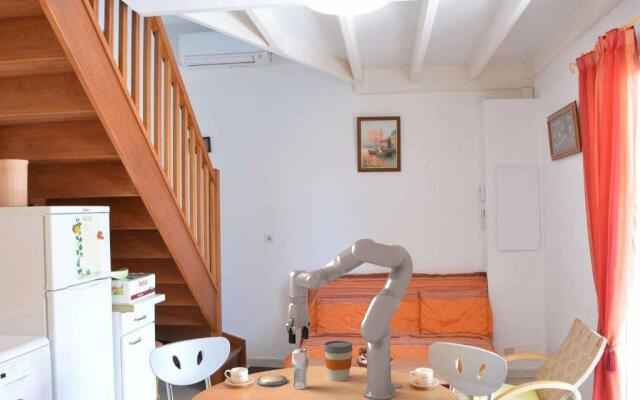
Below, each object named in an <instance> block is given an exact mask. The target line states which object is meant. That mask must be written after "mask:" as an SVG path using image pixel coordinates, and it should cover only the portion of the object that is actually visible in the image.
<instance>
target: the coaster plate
mask: <svg viewBox="0 0 640 400" xmlns="http://www.w3.org/2000/svg"><path fill="white" fill-rule="evenodd" d="M287 382H288V378H287V376H285V375H282V374H269V375H262V376H260V377H258V378H257V379H256V384H257V385H258V386H260V387H265V388H274V387H275V388H276V387H279V386H280V387H281V386H283V385H286V384H287Z"/></svg>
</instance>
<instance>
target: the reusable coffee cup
mask: <svg viewBox="0 0 640 400" xmlns="http://www.w3.org/2000/svg"><path fill="white" fill-rule="evenodd" d="M323 347H324V349H323V351H324V354H325V356H324V359H325V360H324V361H325V368H327V375H328V380H330V381H332V382H345V381H344V380H346V381H347V379H348V380H349V379H350V373H351V371H350V370H351V368H352V361H353V356H352V352H353V345H352V342H351V341H347V340H330V341H326V342H324V346H323Z"/></svg>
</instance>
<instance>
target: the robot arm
mask: <svg viewBox="0 0 640 400" xmlns="http://www.w3.org/2000/svg"><path fill="white" fill-rule="evenodd" d="M366 263H367V264H370V265H371V264H372V265H375V266H380V267H382V268H387V269H391V270H390V272H389V274H388V276H387V277H386V281H385V283H384V285H383V287H382V289H381V290H380V292H378V293H377V294H376V295H374V297H373V298H372V299H371V302H370V304H369V306H368V309H367V311H366V313H365V315H364V318H363V320H362V322H361V324H360V329H359V330H360V331H359V332H360V335H361V338H362V339H363V340H364V341H365V342H366V345H365V346H366V349H365V350H366V352H365V353H366V385H367V386H366V388H365V389H364V390H363V396H364V397H366V398H367V399H371V400H390V399H393V398H395V396H396V390H397V389H404V385H403V382H399V383H397V381H396V382H395V381H394V382H393V381H392V366H391V365H392V363H391V362H392V361H391V360H392V359H391V356H392V355H391V340H392V337H391V336H392V334H391V333H392V325H391V321H392V319H393V317H394V315H395V313H396V312H398V310H399V308H400V305H401V303H402V300H403V297H404V296H405V294H406V292H407V289H408V286H409V284H410V281H411V279H412V277H413V276H412V275H413V273H414V272H413V270H414V264H413V259H412V257H411V255H410V253H409V252H408V250H407V249H406V248H405V247H403V246H402V245H399V244H392V245H389V244H383V243H378V242H376V241H374V240H373V239H371V238H360V239H358V240H356V241H355V242H354V243H353V245H351V246H350V247H348V248H347V249H344V250H343V251H341V252H339V253H338V254H337V255H336V256H335V257H334V259H332V261H331V262H329V263H328V264H326V265H324V266H322V267H321V268H319V269H316V270H312V271H306V270H298V269H297V270H292V271H291V272H290V273H289V305H288V309H287V321H286V324H285V328H286V331H287V334H288V344H293V345H295V344H297V334H296V331H297V329H301V339H303V340H309V338H310V337H309V330H310V325H311V320H312V318H311V317H310V316H309V304H308V303H309V302H308V300H309V298H308V297H309V295H308V293H309V292H308V291H309V290H319V289H320V288H324V287H326V286H327V285H329V284H331V283H332V282H334V281H335V280H338V279H340V278H341V277H343V276H344V275H347V274H349V273H350V272H352V271H353V270H355V269H356V268H359V267H361V266H362V265H363V264H366Z"/></svg>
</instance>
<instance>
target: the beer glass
mask: <svg viewBox="0 0 640 400" xmlns="http://www.w3.org/2000/svg"><path fill="white" fill-rule="evenodd" d="M309 361H310V360H309V351H308V349H304V348H297V349H293V350H292V353H291V367H292V371H293V377H294V378H293V379H294V380H293V389H295V390H305V389H308V388H309V384H308V370H309Z"/></svg>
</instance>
